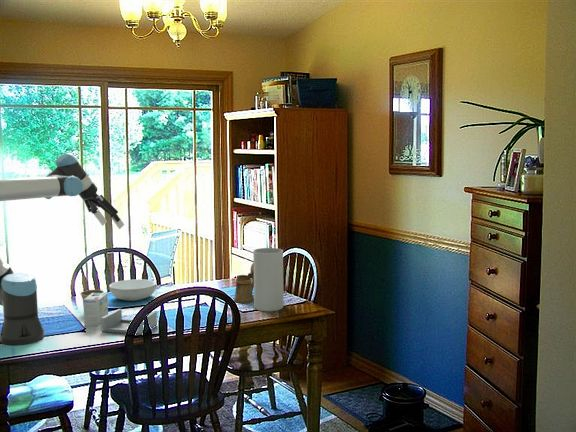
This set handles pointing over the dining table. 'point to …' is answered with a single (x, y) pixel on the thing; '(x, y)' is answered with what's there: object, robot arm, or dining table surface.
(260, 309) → the cylinder vase
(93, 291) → the flower pot
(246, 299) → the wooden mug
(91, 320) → the light bulb box
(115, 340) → the dining table surface
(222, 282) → the dining table surface
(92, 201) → the robot arm
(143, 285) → the serving bowl
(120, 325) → the end holder
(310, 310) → the dining table surface
